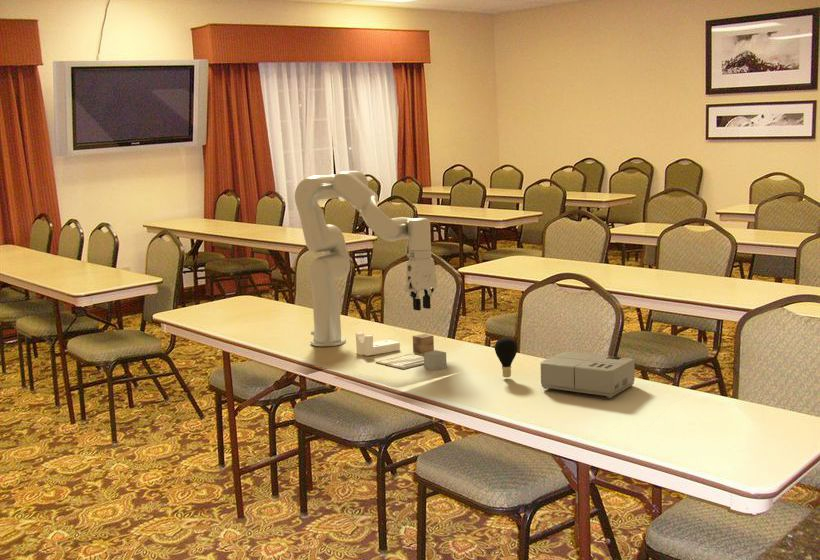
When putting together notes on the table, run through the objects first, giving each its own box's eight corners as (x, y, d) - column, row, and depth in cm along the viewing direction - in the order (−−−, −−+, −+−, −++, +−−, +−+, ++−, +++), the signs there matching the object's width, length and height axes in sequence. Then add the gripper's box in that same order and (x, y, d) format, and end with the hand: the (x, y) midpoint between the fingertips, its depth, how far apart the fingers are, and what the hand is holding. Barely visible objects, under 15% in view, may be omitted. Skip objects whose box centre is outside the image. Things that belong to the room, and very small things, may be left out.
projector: (612, 399, 231) (612, 370, 230) (538, 388, 244) (538, 361, 243) (636, 385, 244) (636, 358, 243) (565, 375, 257) (565, 350, 256)
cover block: (423, 352, 272) (434, 355, 268) (435, 350, 275) (446, 352, 271) (424, 368, 273) (434, 370, 269) (435, 365, 276) (446, 367, 272)
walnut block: (413, 353, 295) (412, 336, 294) (424, 350, 298) (423, 333, 297) (422, 355, 291) (422, 337, 290) (434, 352, 294) (433, 335, 293)
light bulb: (522, 377, 257) (522, 337, 255) (506, 381, 252) (505, 341, 251) (506, 373, 262) (505, 334, 260) (490, 377, 258) (489, 337, 256)
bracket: (367, 358, 290) (366, 336, 289) (356, 355, 296) (355, 333, 295) (400, 352, 297) (399, 331, 296) (389, 349, 303) (388, 328, 302)
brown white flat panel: (375, 362, 282) (375, 361, 282) (412, 354, 292) (412, 353, 292) (403, 369, 272) (403, 368, 272) (440, 360, 282) (440, 359, 282)
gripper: (408, 258, 281) (410, 313, 284) (445, 253, 292) (447, 306, 295) (393, 256, 287) (395, 311, 290) (430, 252, 298) (432, 304, 300)
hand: (421, 308), depth 292 cm, fingers open, 3 cm apart
